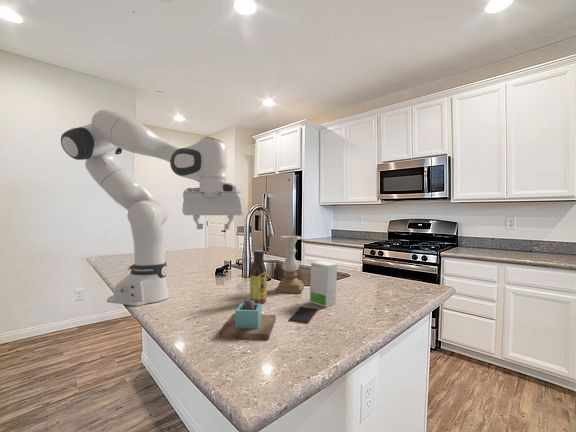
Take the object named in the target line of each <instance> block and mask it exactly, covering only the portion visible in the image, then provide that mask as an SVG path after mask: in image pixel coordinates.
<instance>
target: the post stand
mask: <svg viewBox="0 0 576 432" xmlns="http://www.w3.org/2000/svg"><path fill="white" fill-rule="evenodd" d="M243 303H244V310H254V300H251V299H247V300H246V299H245V300H244V302H243ZM276 320H277V319H276V314H262V320H261V323H260V325H259V328H258V329H253V328H235V313H232V315H231V316H230V317H229V318H228V319H227V321H226V322H225V323H224V324H223V326H222V327H221V329H220V330H219V331H218V338H225V339H226V338H228V339H229V338H231V339H248V340H249V339H251V340H269V339H270V336H271V333H272V331H273V328H274V325H275V322H276Z"/></svg>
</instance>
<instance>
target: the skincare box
mask: <svg viewBox="0 0 576 432" xmlns="http://www.w3.org/2000/svg"><path fill="white" fill-rule="evenodd" d="M337 275H338V263H334V262H330V261H324V260H316V261H313V262H310V282H309V283H310V284H309V287H310V288H309V303H311V304H314V305H318V306H320V307H325V308H328V307H330V306H333V305H335V304H336V300H337V283H338V282H337Z"/></svg>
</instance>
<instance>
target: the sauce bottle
mask: <svg viewBox="0 0 576 432" xmlns="http://www.w3.org/2000/svg"><path fill="white" fill-rule="evenodd" d="M264 254H265V251H264V250H263V249H257V250H253V262H252V263H253V264H252V265H251V266H250V277H249V278H250V283H249V287H250V290H249V293H250V294H249V295H250V296H249V297H250V300H254V304H264V303H266V302H267V284H268V283H267V280H268V279H267V273H268V272H267V269H266V265H265V262H264Z"/></svg>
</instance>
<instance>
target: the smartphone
mask: <svg viewBox="0 0 576 432" xmlns="http://www.w3.org/2000/svg"><path fill="white" fill-rule="evenodd" d="M318 312H319V309H318V308H311V307H305V306H301V307H299V308H298V309H297V310H296V311H295V312H294V313H293V314H292V315H291V316H290V317H289V318H288V320H287V321H288V322H290V323H295V324H303V325H308V324H309V323H310V322H311V321H312V319H313V318H314V317H315V316H316V315H317V313H318Z"/></svg>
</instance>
